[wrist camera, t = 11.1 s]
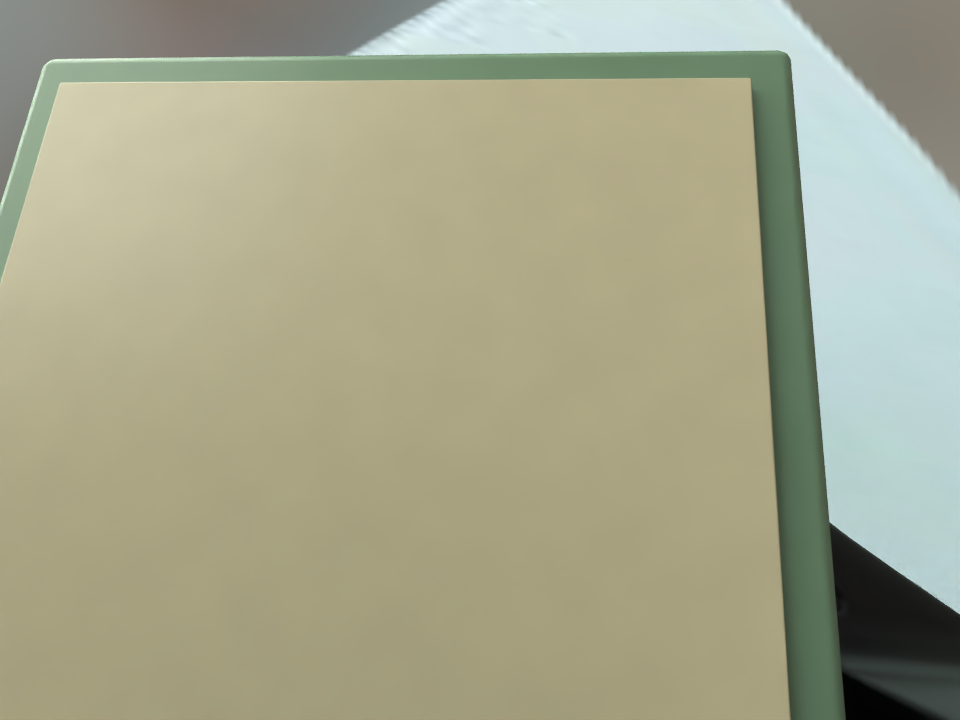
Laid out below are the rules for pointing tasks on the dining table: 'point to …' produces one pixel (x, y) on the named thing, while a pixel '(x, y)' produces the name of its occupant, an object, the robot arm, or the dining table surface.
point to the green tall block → (412, 393)
